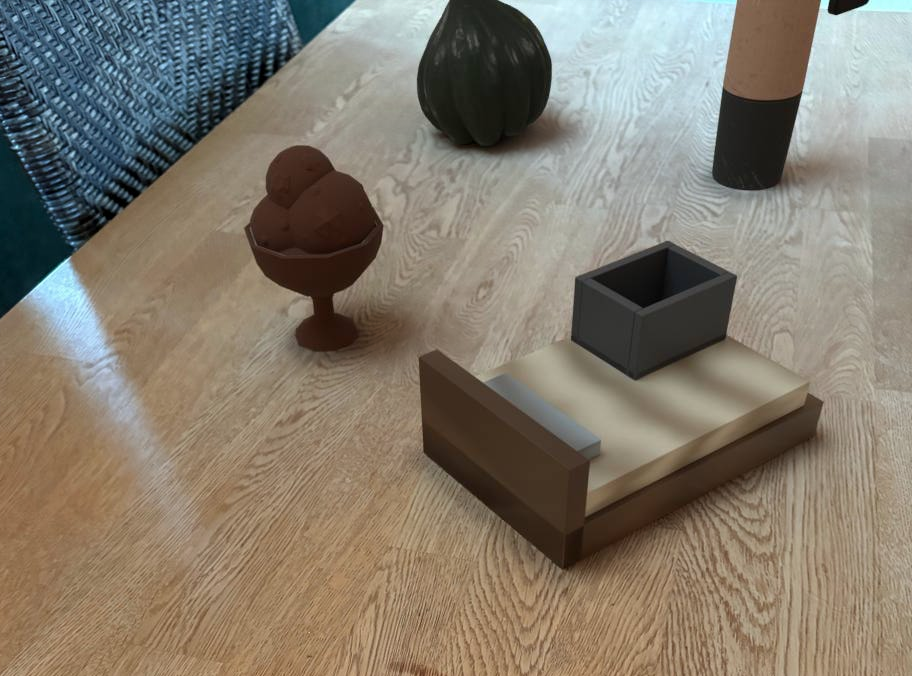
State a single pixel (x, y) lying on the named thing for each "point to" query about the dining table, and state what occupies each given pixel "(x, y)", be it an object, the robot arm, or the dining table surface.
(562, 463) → the bed
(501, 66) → the squash
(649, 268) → the basket
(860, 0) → the robot arm
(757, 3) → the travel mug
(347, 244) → the ice cream bowl
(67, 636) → the dining table surface
